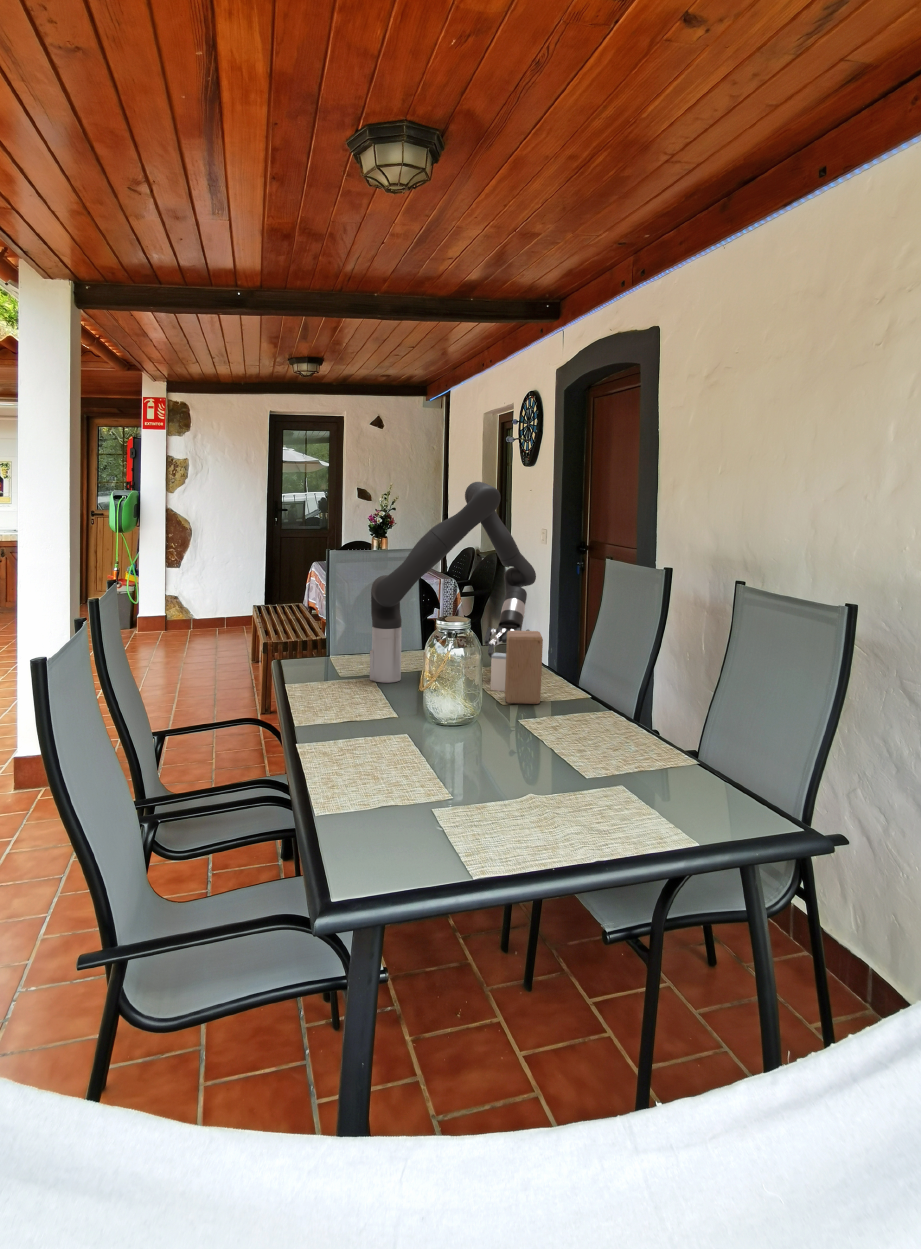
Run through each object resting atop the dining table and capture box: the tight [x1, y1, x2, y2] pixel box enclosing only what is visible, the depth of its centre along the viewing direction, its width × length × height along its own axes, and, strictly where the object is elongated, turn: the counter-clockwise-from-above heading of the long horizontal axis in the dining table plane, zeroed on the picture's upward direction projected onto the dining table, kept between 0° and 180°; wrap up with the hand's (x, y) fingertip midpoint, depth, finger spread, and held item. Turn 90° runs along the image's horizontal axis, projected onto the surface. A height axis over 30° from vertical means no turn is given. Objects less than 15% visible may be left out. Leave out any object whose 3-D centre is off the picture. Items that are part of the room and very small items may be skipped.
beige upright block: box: [490, 652, 506, 692], centre depth 251 cm, size 5×5×11 cm
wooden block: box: [504, 630, 544, 705], centre depth 237 cm, size 10×10×20 cm
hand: (504, 657), depth 255 cm, fingers open, 8 cm apart
